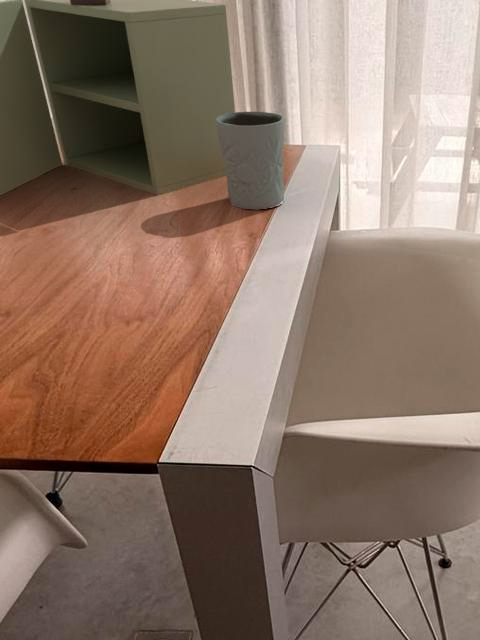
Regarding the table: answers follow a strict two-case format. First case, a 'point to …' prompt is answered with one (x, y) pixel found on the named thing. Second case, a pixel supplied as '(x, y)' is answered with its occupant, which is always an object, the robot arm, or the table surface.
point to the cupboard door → (22, 105)
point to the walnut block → (89, 2)
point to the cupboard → (137, 87)
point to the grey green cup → (253, 158)
